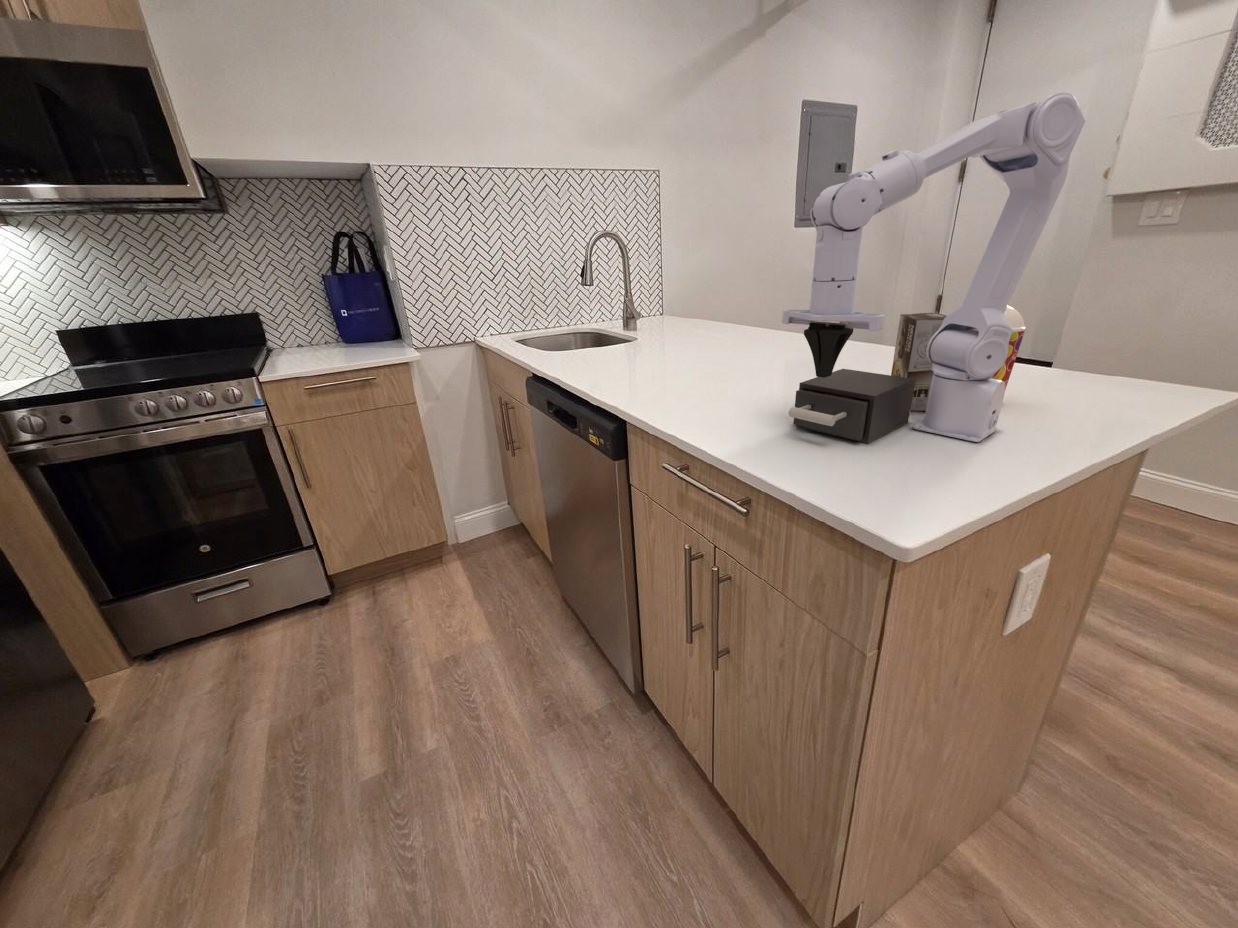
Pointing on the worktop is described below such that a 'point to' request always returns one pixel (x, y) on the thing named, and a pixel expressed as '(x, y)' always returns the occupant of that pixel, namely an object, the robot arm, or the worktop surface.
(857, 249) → the robot arm
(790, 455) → the worktop surface
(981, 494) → the worktop surface
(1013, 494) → the worktop surface
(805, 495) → the worktop surface
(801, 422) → the open pull-out drawer
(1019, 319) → the smoothie
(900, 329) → the coffee box
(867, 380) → the dark drawer unit
